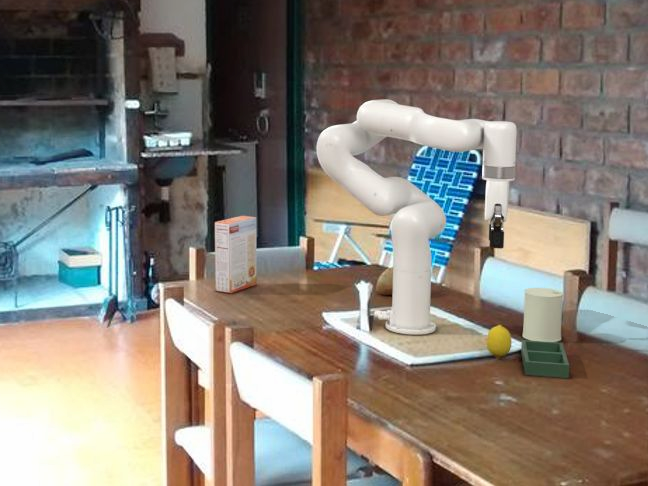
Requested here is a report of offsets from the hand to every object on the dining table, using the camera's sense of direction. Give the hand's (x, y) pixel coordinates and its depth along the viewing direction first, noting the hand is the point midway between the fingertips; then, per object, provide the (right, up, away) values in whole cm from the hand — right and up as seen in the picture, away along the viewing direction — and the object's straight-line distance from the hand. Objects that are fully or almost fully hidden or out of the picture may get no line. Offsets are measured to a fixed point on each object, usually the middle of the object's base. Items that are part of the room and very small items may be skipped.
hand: (495, 244), depth 242 cm
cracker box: (-62, -18, +58) cm, 87 cm away
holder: (+7, -26, -14) cm, 31 cm away
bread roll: (-14, -18, +53) cm, 58 cm away
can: (+13, -24, +8) cm, 28 cm away
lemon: (-2, -26, -10) cm, 28 cm away
